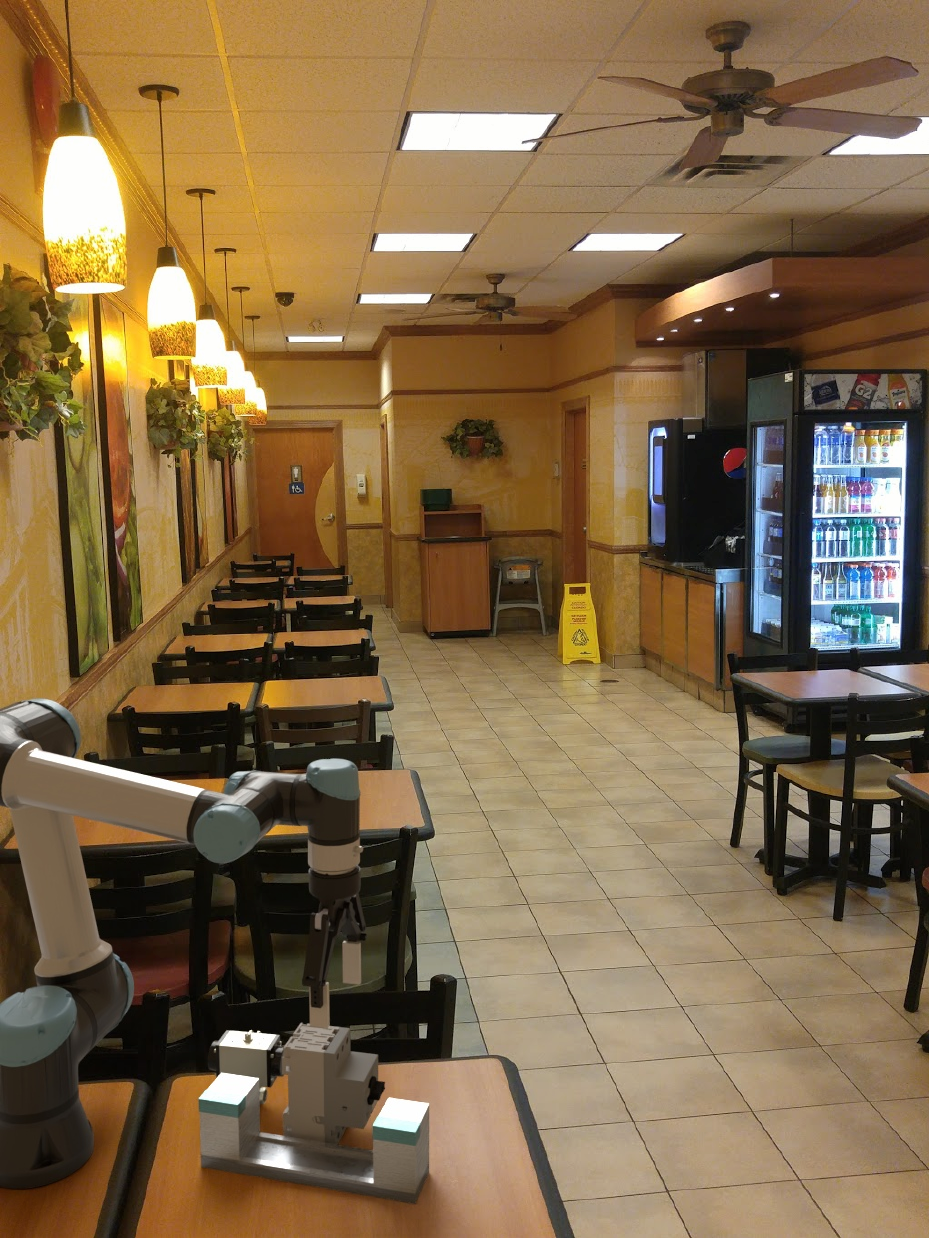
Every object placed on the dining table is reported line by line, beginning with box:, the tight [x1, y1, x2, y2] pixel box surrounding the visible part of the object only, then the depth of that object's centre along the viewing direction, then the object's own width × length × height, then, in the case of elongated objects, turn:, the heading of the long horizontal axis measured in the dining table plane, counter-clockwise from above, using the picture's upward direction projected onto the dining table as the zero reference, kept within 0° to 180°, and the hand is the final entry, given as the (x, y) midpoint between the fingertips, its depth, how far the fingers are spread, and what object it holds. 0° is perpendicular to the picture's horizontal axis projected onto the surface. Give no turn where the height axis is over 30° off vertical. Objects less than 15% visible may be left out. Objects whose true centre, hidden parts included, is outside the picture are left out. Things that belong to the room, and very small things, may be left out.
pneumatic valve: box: [207, 1029, 285, 1105], centre depth 171 cm, size 6×12×12 cm, turn 81°
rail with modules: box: [198, 1073, 430, 1205], centre depth 154 cm, size 32×7×11 cm, turn 76°
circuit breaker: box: [282, 1022, 386, 1145], centre depth 163 cm, size 8×14×15 cm, turn 78°
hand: (336, 1003), depth 161 cm, fingers open, 13 cm apart
